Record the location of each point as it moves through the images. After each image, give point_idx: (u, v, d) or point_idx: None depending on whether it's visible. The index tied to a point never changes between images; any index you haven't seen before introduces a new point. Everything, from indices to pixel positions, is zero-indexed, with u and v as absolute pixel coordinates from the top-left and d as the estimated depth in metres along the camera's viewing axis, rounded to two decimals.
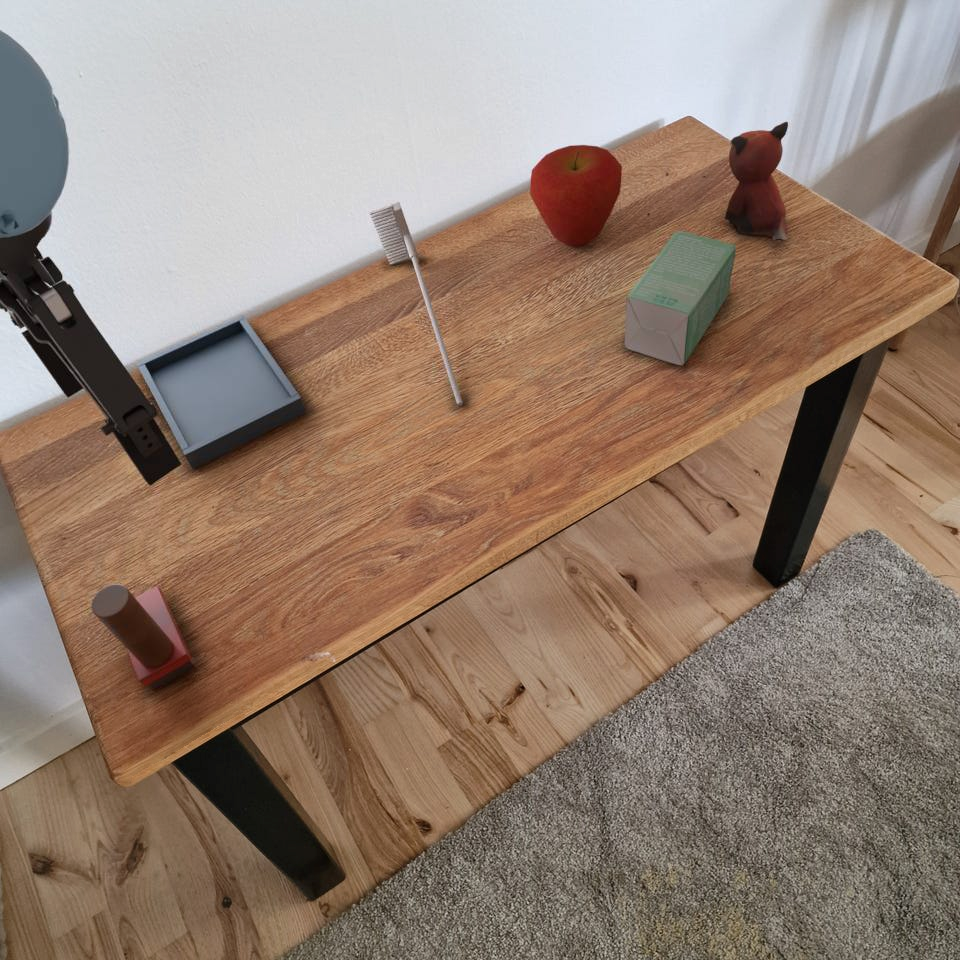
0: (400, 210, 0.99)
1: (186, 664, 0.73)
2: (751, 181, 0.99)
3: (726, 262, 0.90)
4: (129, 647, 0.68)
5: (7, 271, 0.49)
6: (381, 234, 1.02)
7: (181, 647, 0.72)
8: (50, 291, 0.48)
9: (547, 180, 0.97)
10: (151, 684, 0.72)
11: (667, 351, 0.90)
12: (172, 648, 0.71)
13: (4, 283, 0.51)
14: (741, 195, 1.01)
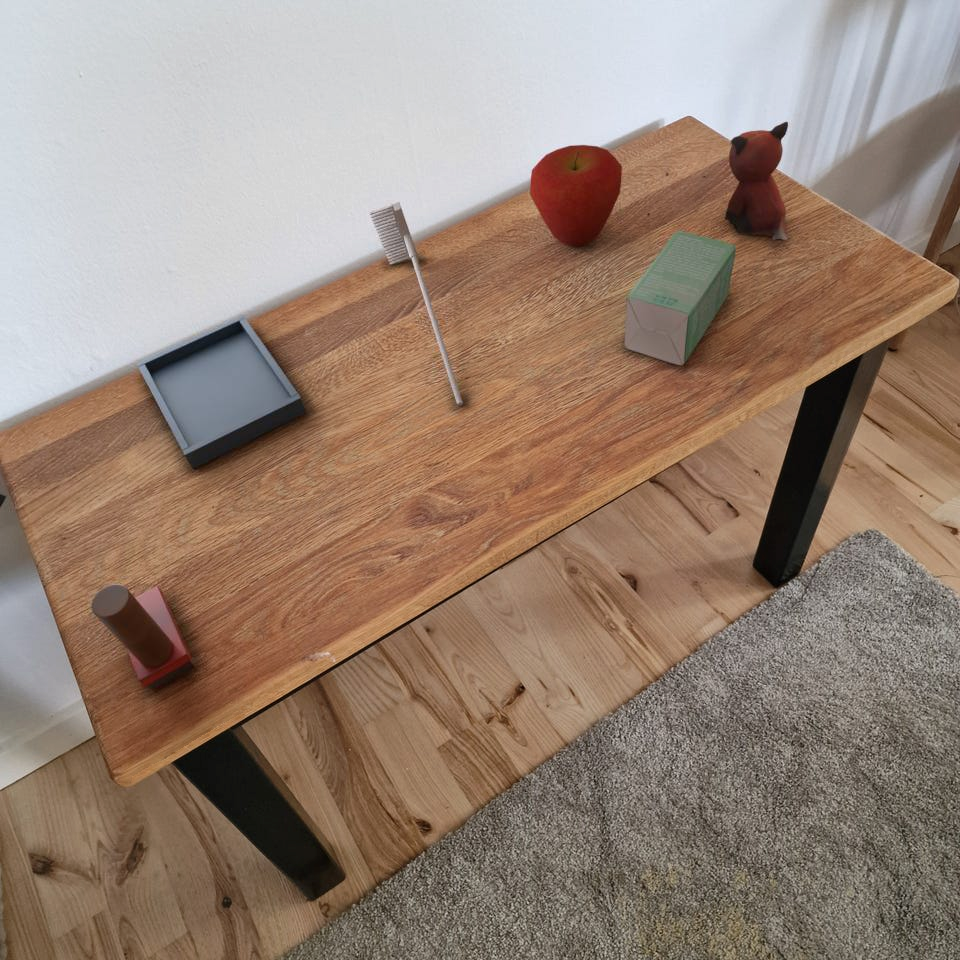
0: (400, 210, 0.99)
1: (186, 664, 0.73)
2: (751, 181, 0.99)
3: (726, 262, 0.90)
4: (129, 647, 0.68)
5: None
6: (381, 234, 1.02)
7: (181, 647, 0.72)
8: None
9: (547, 180, 0.97)
10: (151, 684, 0.72)
11: (667, 351, 0.90)
12: (172, 648, 0.71)
13: None
14: (741, 195, 1.01)
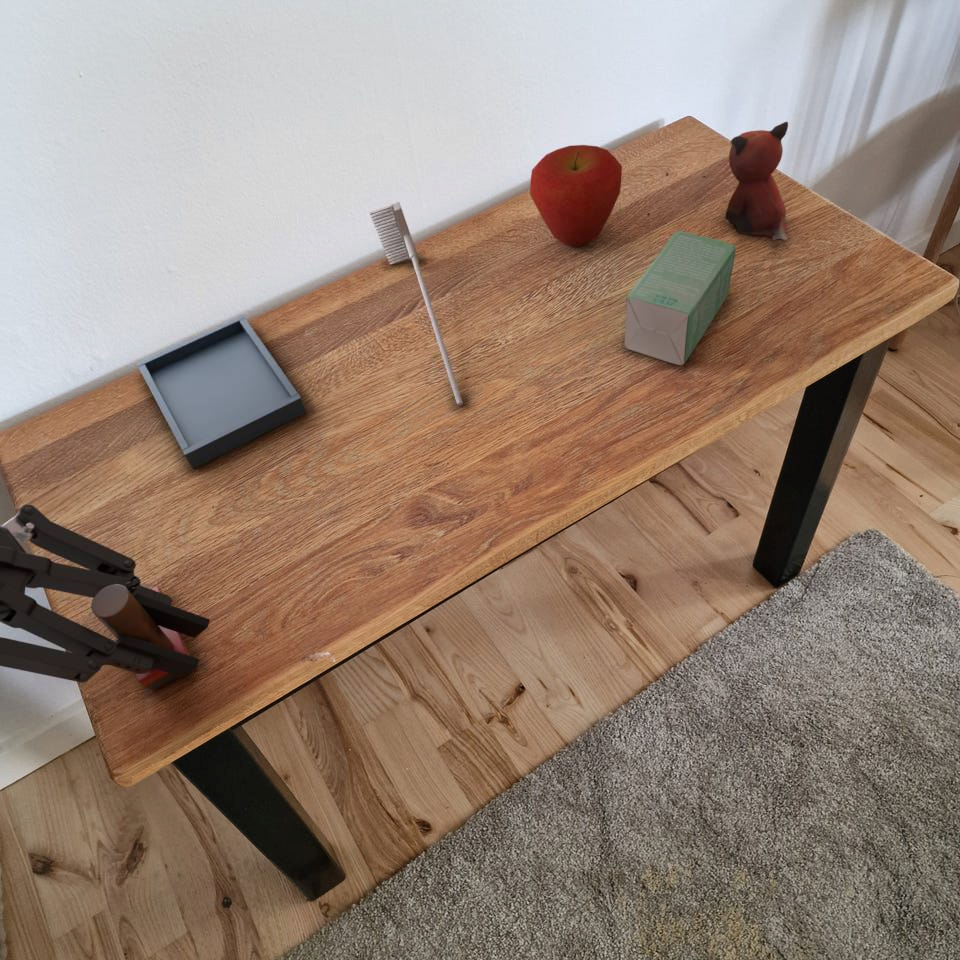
0: (400, 210, 0.99)
1: None
2: (751, 181, 0.99)
3: (726, 262, 0.90)
4: None
5: None
6: (381, 234, 1.02)
7: (181, 647, 0.72)
8: None
9: (547, 180, 0.97)
10: (151, 684, 0.72)
11: (667, 351, 0.90)
12: (172, 648, 0.71)
13: None
14: (741, 195, 1.01)
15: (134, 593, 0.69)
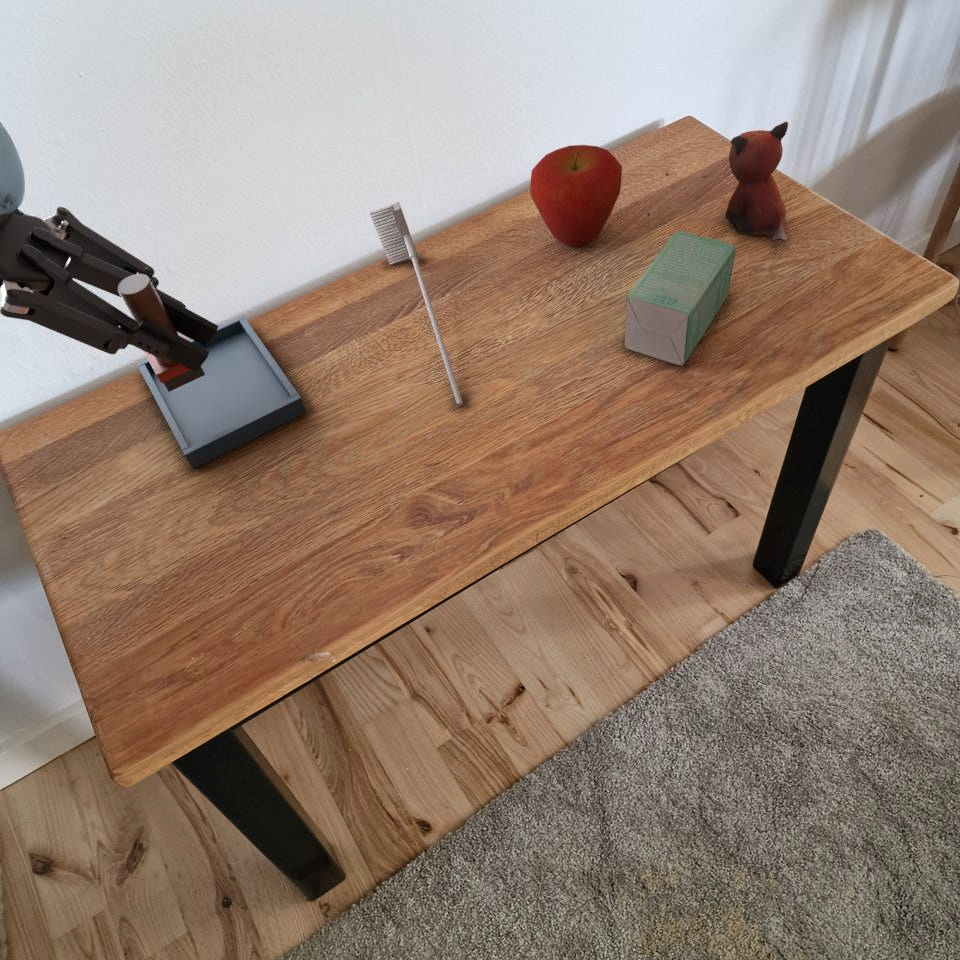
0: (400, 210, 0.99)
1: None
2: (751, 181, 0.99)
3: (726, 262, 0.90)
4: None
5: (19, 211, 0.74)
6: (381, 234, 1.02)
7: None
8: None
9: (547, 180, 0.97)
10: (167, 384, 0.83)
11: (667, 351, 0.90)
12: None
13: (31, 232, 0.73)
14: (741, 195, 1.01)
15: None
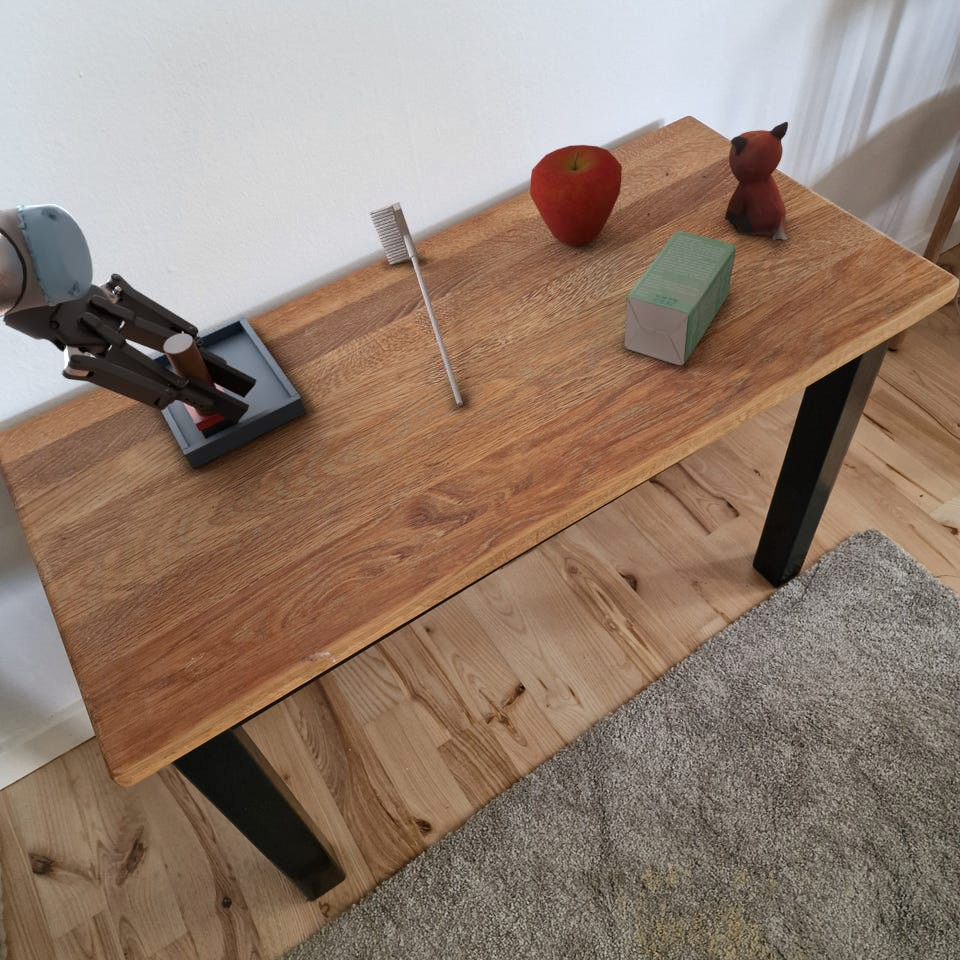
0: (400, 210, 0.99)
1: None
2: (751, 181, 0.99)
3: (726, 262, 0.90)
4: None
5: None
6: (381, 234, 1.02)
7: None
8: None
9: (547, 180, 0.97)
10: (204, 431, 0.89)
11: (667, 351, 0.90)
12: None
13: (89, 299, 0.80)
14: (741, 195, 1.01)
15: None
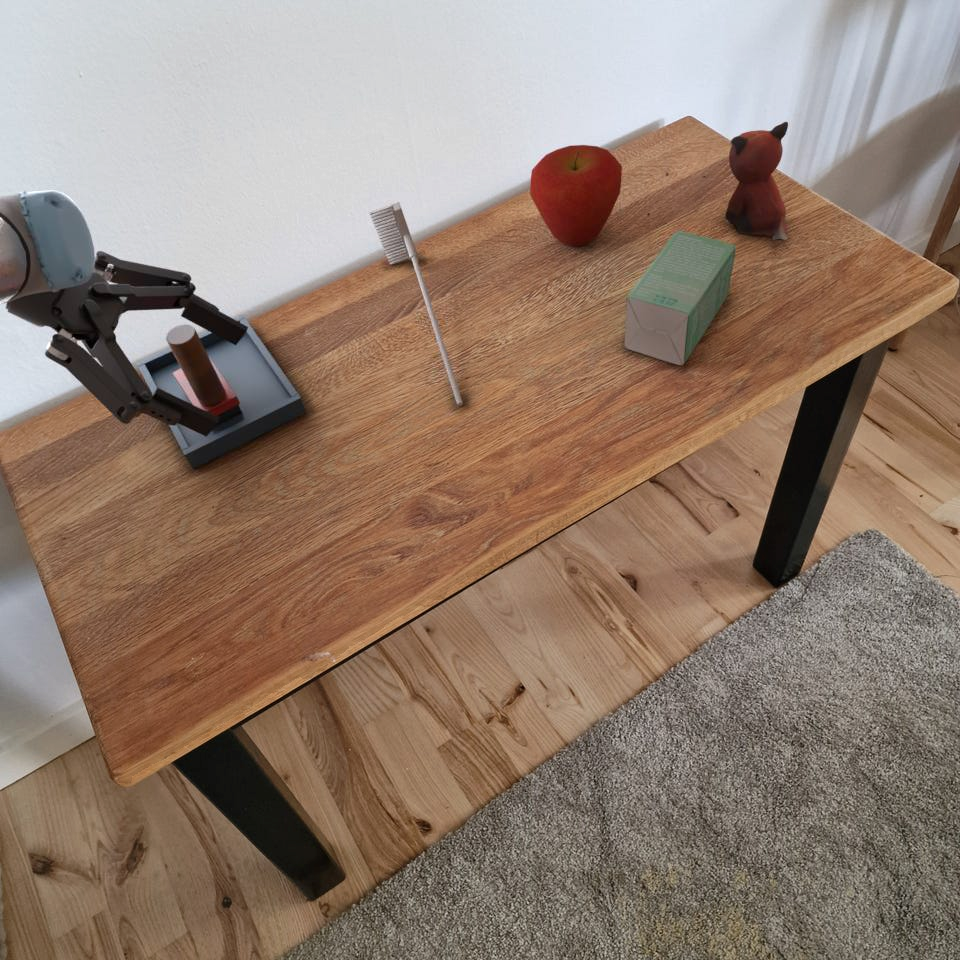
0: (400, 210, 0.99)
1: (235, 408, 0.91)
2: (751, 181, 0.99)
3: (726, 262, 0.90)
4: (194, 381, 0.86)
5: None
6: (381, 234, 1.02)
7: (232, 392, 0.90)
8: None
9: (547, 180, 0.97)
10: None
11: (667, 351, 0.90)
12: (225, 392, 0.90)
13: (91, 286, 0.81)
14: (741, 195, 1.01)
15: (192, 296, 0.89)
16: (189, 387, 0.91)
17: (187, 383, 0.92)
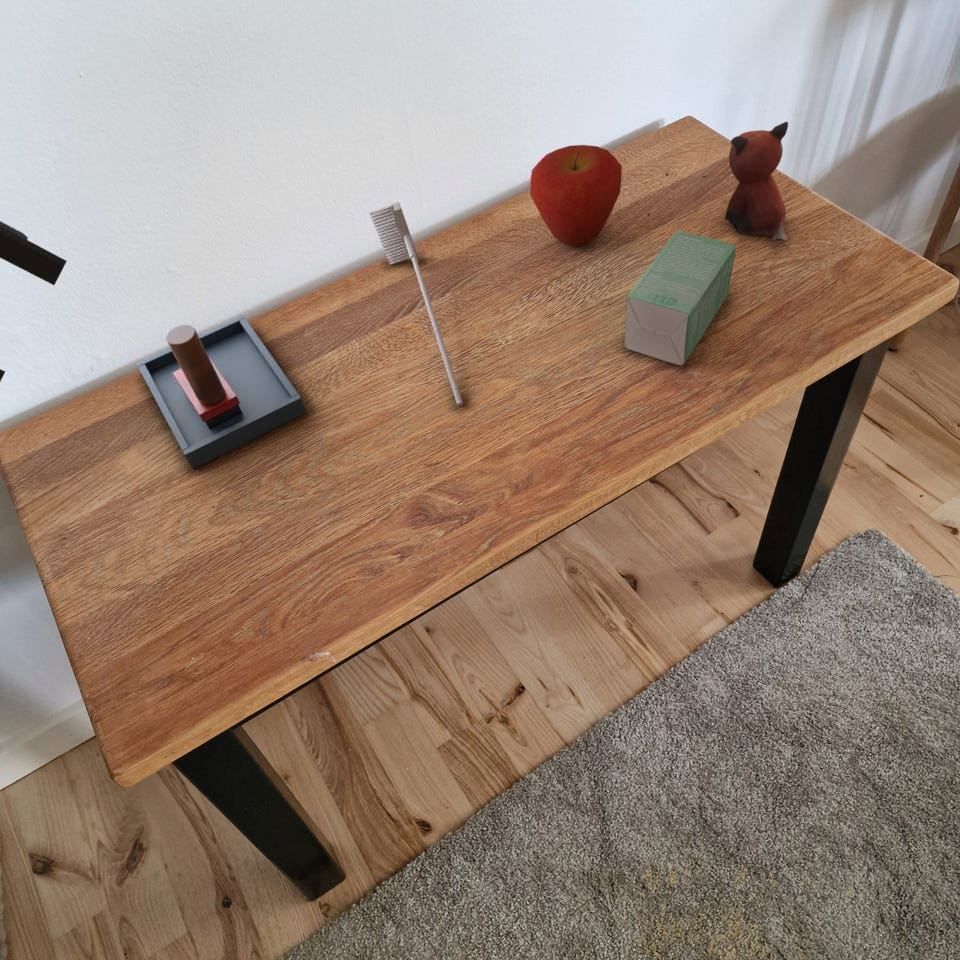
0: (400, 210, 0.99)
1: (235, 408, 0.91)
2: (751, 181, 0.99)
3: (726, 262, 0.90)
4: (194, 381, 0.86)
5: None
6: (381, 234, 1.02)
7: (232, 392, 0.90)
8: None
9: (547, 180, 0.97)
10: (208, 422, 0.90)
11: (667, 351, 0.90)
12: (225, 392, 0.90)
13: None
14: (741, 195, 1.01)
15: None
16: (189, 387, 0.91)
17: (187, 383, 0.92)
